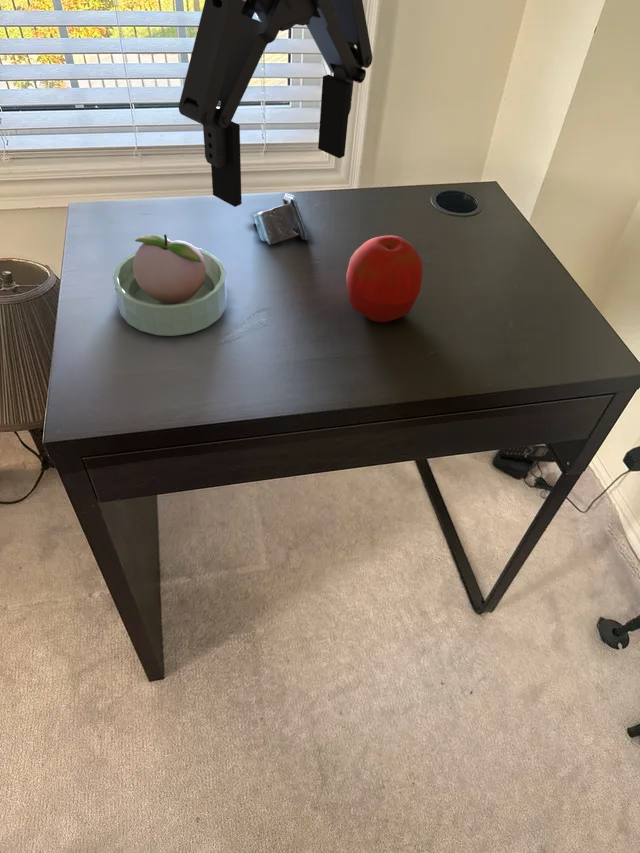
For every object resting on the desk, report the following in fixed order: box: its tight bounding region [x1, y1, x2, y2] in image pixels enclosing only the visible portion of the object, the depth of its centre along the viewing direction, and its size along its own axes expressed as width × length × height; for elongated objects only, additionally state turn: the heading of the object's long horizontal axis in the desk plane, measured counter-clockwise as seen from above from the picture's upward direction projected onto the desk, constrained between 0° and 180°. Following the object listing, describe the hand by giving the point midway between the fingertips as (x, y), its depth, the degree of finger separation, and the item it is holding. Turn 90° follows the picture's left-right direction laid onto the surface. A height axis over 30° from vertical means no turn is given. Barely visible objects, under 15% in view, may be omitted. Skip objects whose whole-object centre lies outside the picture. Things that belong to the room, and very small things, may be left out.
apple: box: [345, 235, 424, 323], centre depth 85 cm, size 10×10×12 cm
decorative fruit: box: [133, 233, 206, 303], centre depth 83 cm, size 9×8×10 cm
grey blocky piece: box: [252, 192, 309, 246], centre depth 100 cm, size 10×7×12 cm
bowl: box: [112, 247, 228, 337], centre depth 85 cm, size 14×14×5 cm
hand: (282, 175), depth 58 cm, fingers open, 13 cm apart
